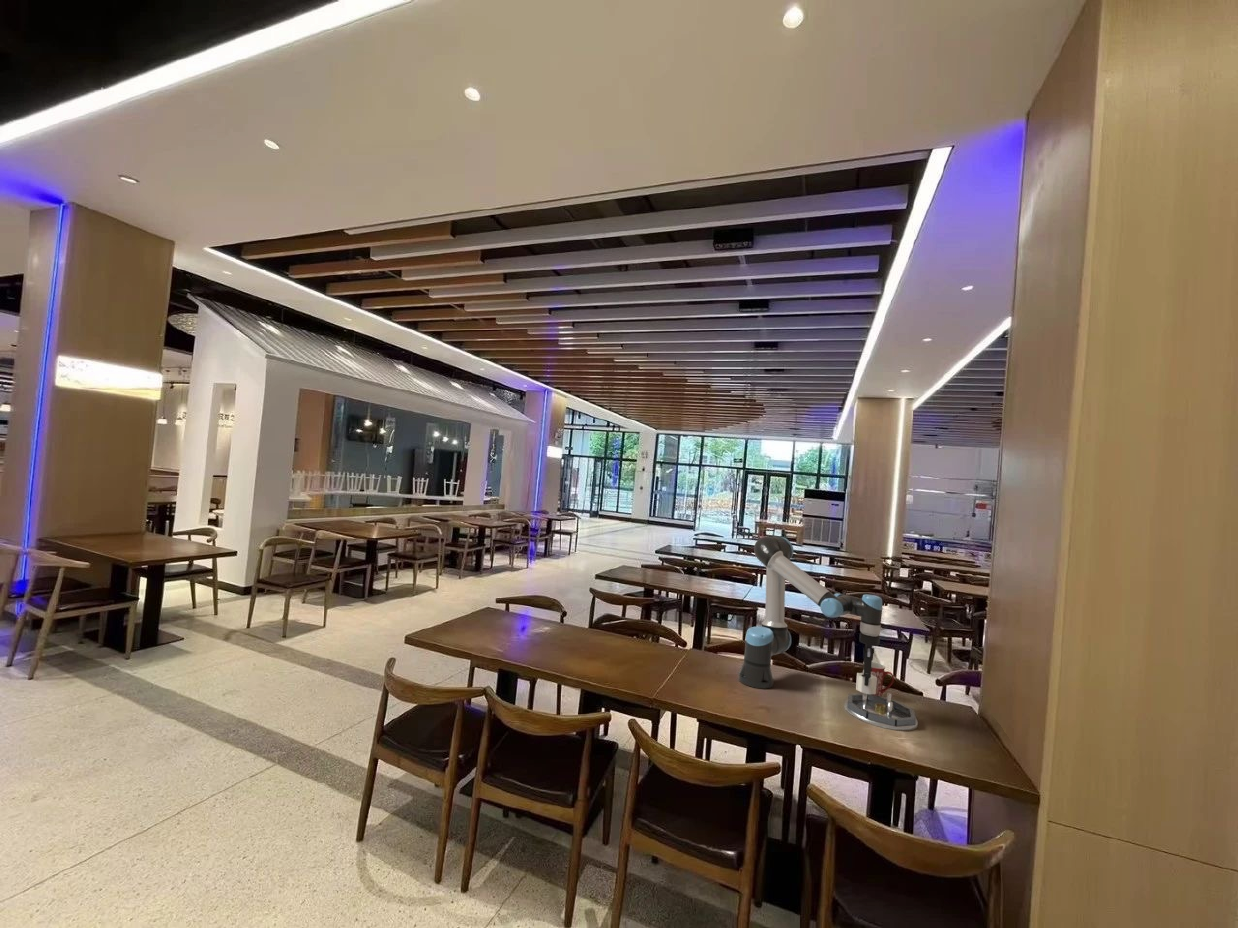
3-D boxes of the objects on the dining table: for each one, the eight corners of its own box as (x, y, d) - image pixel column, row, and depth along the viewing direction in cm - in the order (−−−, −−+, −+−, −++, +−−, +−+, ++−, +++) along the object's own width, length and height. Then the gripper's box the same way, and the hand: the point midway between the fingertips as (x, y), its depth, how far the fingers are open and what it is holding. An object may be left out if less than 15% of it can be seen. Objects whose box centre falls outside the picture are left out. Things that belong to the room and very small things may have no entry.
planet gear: (855, 691, 213) (856, 676, 213) (856, 685, 219) (857, 671, 220) (876, 696, 210) (877, 680, 210) (875, 690, 216) (876, 675, 216)
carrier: (843, 717, 205) (845, 696, 206) (845, 695, 229) (847, 676, 230) (920, 737, 194) (922, 714, 194) (914, 712, 218) (916, 692, 218)
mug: (859, 695, 231) (862, 664, 232) (861, 689, 239) (863, 659, 239) (891, 704, 225) (894, 672, 226) (892, 697, 233) (894, 666, 233)
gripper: (880, 641, 205) (876, 700, 204) (879, 630, 223) (875, 685, 222) (859, 637, 208) (855, 695, 207) (860, 626, 226) (855, 680, 225)
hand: (865, 690), depth 214 cm, fingers closed on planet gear, 7 cm apart
